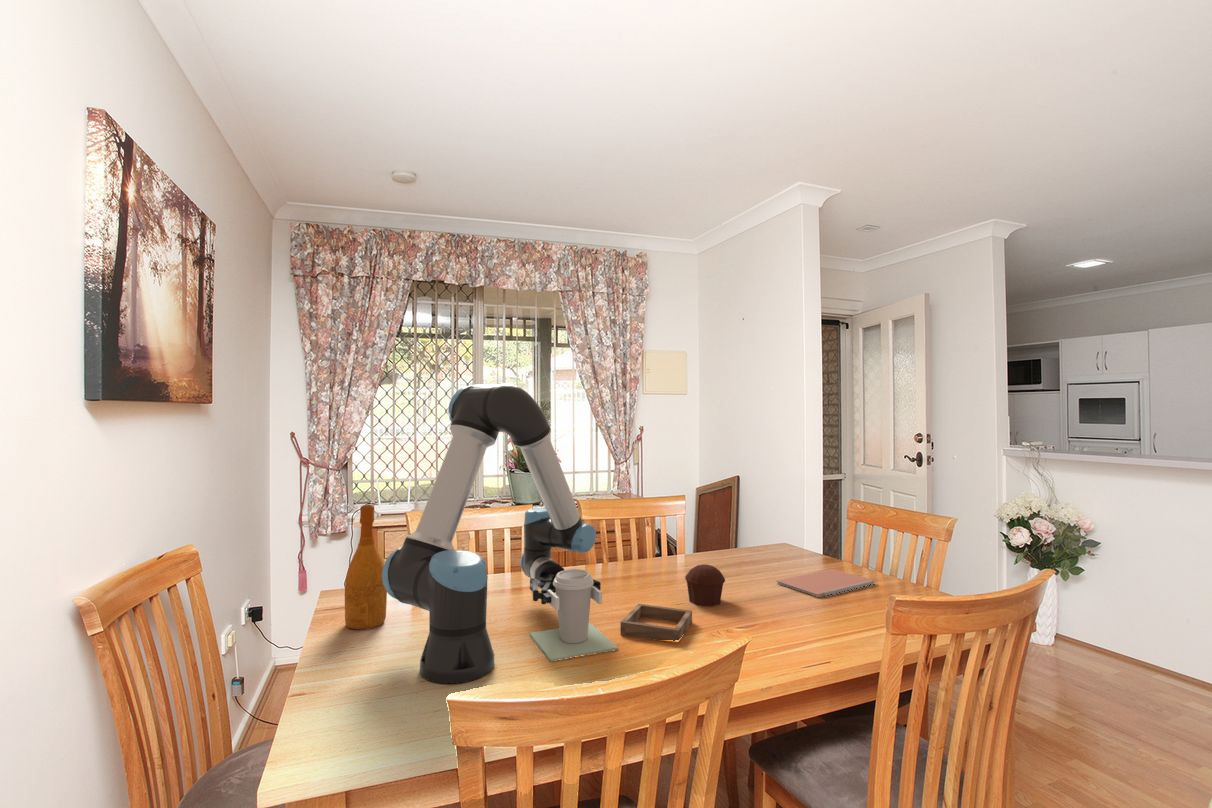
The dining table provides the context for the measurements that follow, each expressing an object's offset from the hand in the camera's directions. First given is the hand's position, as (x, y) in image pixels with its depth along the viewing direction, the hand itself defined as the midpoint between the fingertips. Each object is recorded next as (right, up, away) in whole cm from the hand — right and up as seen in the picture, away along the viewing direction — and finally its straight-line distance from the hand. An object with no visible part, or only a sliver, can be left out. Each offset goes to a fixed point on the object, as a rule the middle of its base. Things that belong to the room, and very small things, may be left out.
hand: (579, 601), depth 131 cm
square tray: (+19, -11, +13) cm, 26 cm away
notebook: (+76, -13, +51) cm, 92 cm away
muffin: (+34, -12, +34) cm, 50 cm away
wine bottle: (-55, -11, +14) cm, 57 cm away
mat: (-2, -11, +4) cm, 12 cm away
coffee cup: (-2, -10, +5) cm, 12 cm away
